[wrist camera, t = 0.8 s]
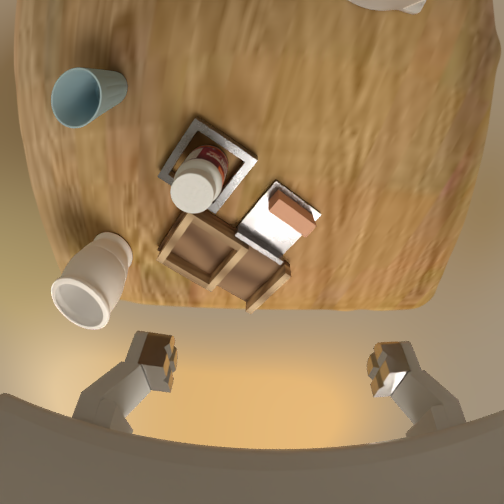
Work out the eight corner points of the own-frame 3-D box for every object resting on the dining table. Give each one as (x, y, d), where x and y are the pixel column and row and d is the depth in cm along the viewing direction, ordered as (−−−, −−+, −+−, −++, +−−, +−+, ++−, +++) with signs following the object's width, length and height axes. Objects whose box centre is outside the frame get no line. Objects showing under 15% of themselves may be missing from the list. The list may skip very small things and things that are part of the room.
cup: (126, 55, 34) (90, 56, 25) (141, 101, 38) (109, 113, 30) (84, 77, 35) (44, 85, 27) (99, 119, 39) (62, 137, 31)
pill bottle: (237, 167, 44) (230, 198, 35) (205, 190, 46) (190, 227, 37) (210, 135, 41) (194, 157, 32) (178, 161, 44) (155, 190, 34)
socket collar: (197, 116, 40) (195, 118, 38) (257, 156, 43) (257, 160, 41) (161, 172, 44) (157, 176, 43) (217, 208, 48) (215, 213, 46)
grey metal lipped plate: (276, 179, 45) (276, 186, 43) (320, 213, 48) (323, 221, 45) (235, 227, 50) (234, 235, 47) (279, 255, 52) (280, 265, 50)
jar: (80, 230, 51) (39, 281, 38) (126, 221, 49) (88, 276, 37) (102, 276, 56) (71, 330, 44) (146, 271, 55) (119, 330, 43)
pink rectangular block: (278, 189, 45) (279, 198, 42) (313, 215, 47) (316, 226, 44) (268, 200, 46) (268, 211, 43) (303, 225, 48) (305, 237, 45)
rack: (190, 199, 47) (185, 209, 44) (289, 264, 53) (291, 276, 50) (158, 246, 52) (153, 258, 49) (251, 301, 58) (251, 314, 55)
